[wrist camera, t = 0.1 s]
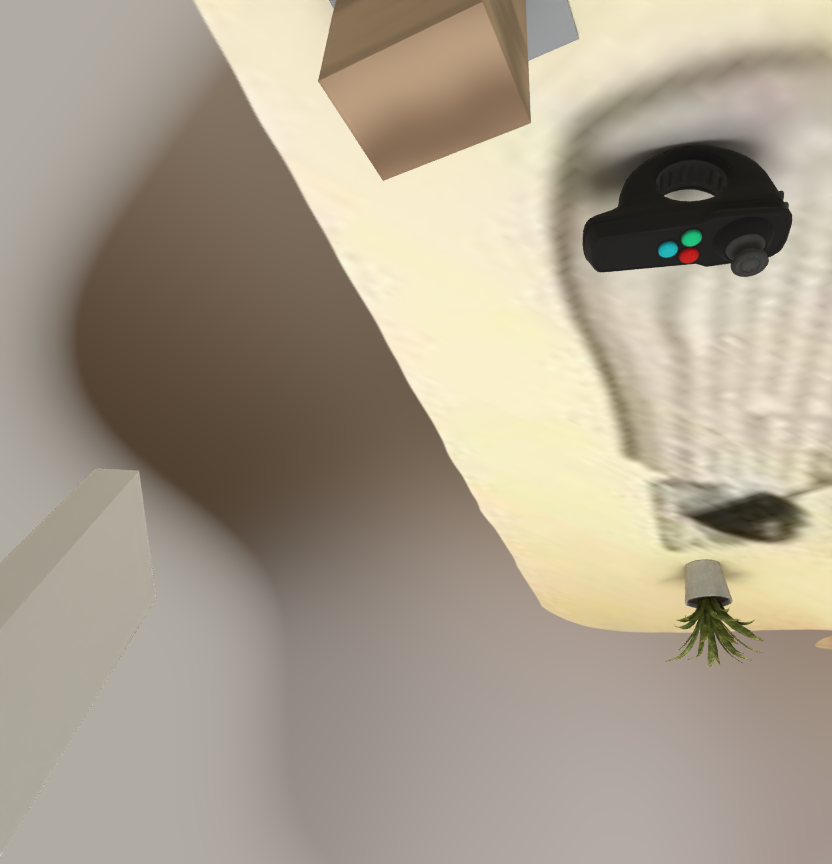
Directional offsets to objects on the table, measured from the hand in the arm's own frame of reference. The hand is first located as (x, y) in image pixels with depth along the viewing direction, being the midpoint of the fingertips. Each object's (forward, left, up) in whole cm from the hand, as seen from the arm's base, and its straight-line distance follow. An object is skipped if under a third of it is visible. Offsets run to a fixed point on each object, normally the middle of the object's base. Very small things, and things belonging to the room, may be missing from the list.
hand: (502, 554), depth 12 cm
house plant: (+107, -6, -36) cm, 113 cm away
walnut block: (+6, -6, -36) cm, 37 cm away
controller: (+23, +3, -36) cm, 43 cm away
